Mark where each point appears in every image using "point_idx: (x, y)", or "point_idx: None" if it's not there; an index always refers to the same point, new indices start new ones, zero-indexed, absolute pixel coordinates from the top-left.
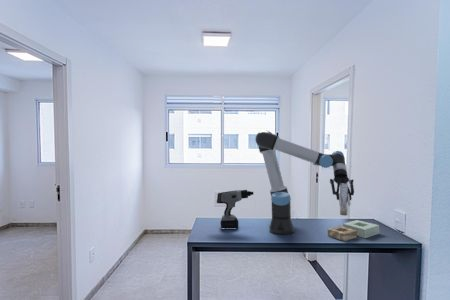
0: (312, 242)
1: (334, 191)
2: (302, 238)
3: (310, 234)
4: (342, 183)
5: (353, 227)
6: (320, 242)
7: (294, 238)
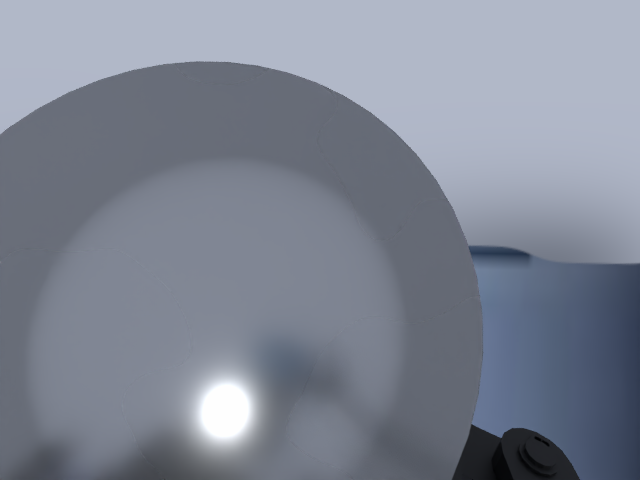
0: (520, 265)
1: (532, 442)
2: (578, 338)
3: (521, 427)
4: (277, 365)
5: None
6: (473, 264)
7: (629, 338)
